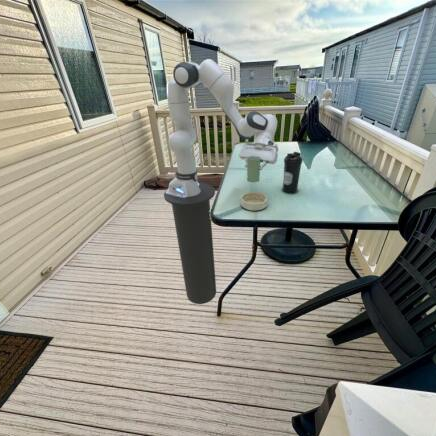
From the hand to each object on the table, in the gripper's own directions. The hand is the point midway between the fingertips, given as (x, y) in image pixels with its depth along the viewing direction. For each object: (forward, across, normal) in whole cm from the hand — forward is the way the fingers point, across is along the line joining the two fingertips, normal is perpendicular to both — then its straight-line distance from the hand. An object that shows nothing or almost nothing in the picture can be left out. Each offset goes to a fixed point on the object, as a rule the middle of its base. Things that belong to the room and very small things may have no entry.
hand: (253, 168), depth 125 cm
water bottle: (-4, +13, +33) cm, 36 cm away
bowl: (+15, +2, +14) cm, 21 cm away
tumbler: (+4, 0, +5) cm, 7 cm away
